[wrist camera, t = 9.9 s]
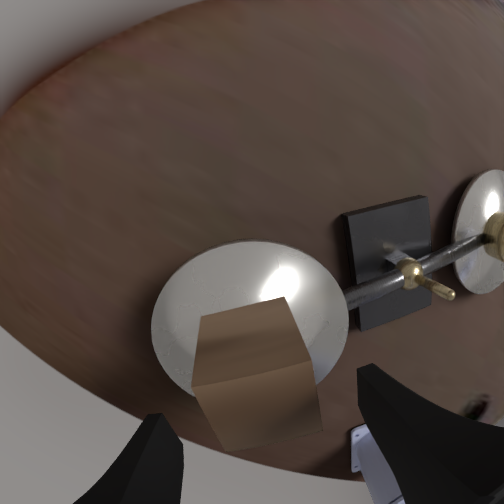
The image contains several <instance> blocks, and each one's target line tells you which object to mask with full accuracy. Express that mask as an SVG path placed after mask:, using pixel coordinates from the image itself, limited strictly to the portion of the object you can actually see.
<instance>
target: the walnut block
mask: <svg viewBox="0 0 504 504" xmlns="http://www.w3.org/2000/svg"><path fill="white" fill-rule="evenodd" d="M191 389H192V391H193V393H194V395H195V397H196V399H197V401H198V403H199V405H200V406H201V408H202V410H203V412H204V414H205V416H206V418H207V419H208V421H209V423H210V425H211V427H212V429H213V430H214V432H215V434H216V436H217V437H218V439H219V441H220V443H221V444H222V446H223V448H224V449H225V451H226V452H230V451H237V450H243V449H249V448H254V447H259V446H264V445H269V444H274V443H278V442H283V441H287V440H291V439H295V438H299V437H303V436H306V435H310V434H313V433H317V432H320V431H323V427H322V420H321V414H320V407H319V401H318V394H317V388H316V382H315V376H314V370H313V364H312V359H311V357H310V355H309V352H308V350H307V347H306V345H305V343H304V340H303V338H302V336H301V333H300V331H299V329H298V326H297V324H296V322H295V319H294V317H293V315H292V312H291V310H290V308H289V305H288V303H287V301H286V298H285V296H281V297H277V298H274V299H270V300H266V301H262V302H258V303H254V304H250V305H246V306H242V307H238V308H234V309H230V310H226V311H222V312H217V313H213V314H209V315H204V316H201V319H200V325H199V332H198V339H197V346H196V353H195V360H194V367H193V374H192V382H191Z"/></svg>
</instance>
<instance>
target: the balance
mask: <svg viewBox="0 0 504 504" xmlns="http://www.w3.org/2000/svg"><path fill="white" fill-rule="evenodd" d="M342 219H343V225H344V231H345V238H346V244H347V251H348V258H349V266H350V274H351V282H352V287H349V288H347V289H344V290H341V289H340V287H339V285H338V283H337V282H336V280H335V279H334V278H333V276H332V275H331V274H330V272H329V271H328V270H327V269H326V268H325V267H324V266H323V265H322V264H321V263H320V262H318V261H317V260H316V259H315V258H313V257H312V256H310V255H309V254H308V253H306V252H304V251H302V250H300V249H298V248H296V247H294V246H291V245H288V244H285V243H282V242H278V241H273V240H268V239H239V240H233V241H228V242H224V243H221V244H218V245H215V246H212V247H209V248H207V249H205V250H203V251H201V252H199V253H197V254H196V255H194V256H193V257H191V258H190V259H188V260H187V261H185V262H184V263H183V264H182V265H181V266H180V267H179V268H178V269H177V270H176V271H175V272H174V273H173V274H172V275H171V277H170V278H169V279H168V280H167V282H166V284H165V285H164V287H163V289H162V290H161V292H160V294H159V297H158V299H157V302H156V304H155V306H154V311H153V315H152V322H151V335H152V342H153V346H154V350H155V353H156V355H157V358H158V360H159V362H160V364H161V365H162V367H163V369H164V370H165V372H166V373H167V374H168V375H169V377H170V378H171V379H172V380H173V381H174V382H175V383H176V384H177V385H178V386H179V387H181V388H182V389H183V390H185V391H186V392H187V393H189V394H191V395H192V396H194V397H195V395H194V393H193V391H192V389H191V382H192V374H193V367H194V360H195V353H196V346H197V339H198V332H199V325H200V319H201V316H204V315H209V314H213V313H217V312H222V311H226V310H230V309H234V308H238V307H242V306H246V305H250V304H254V303H258V302H262V301H266V300H270V299H274V298H277V297H281V296H285V298H286V301H287V303H288V305H289V308H290V310H291V312H292V315H293V317H294V319H295V322H296V324H297V326H298V329H299V331H300V333H301V336H302V338H303V340H304V343H305V345H306V347H307V350H308V352H309V355H310V357H311V359H312V364H313V370H314V376H315V382H316V385H317V384H318V383H319V382H320V381H321V380H322V379H323V378H324V377H325V376H326V375H327V374H328V373H329V372H330V371H331V369H332V368H333V367H334V365H335V364H336V362H337V361H338V359H339V357H340V355H341V353H342V351H343V348H344V346H345V342H346V339H347V335H348V326H349V317H348V311H350V310H352V309H354V310H355V321H356V326H357V327H358V328H359V330H360V331H361V332H362V331H365V330H368V329H371V328H374V327H376V326H379V325H382V324H384V323H387V322H390V321H392V320H395V319H398V318H400V317H403V316H405V315H408V314H410V313H413V312H415V311H418V310H420V309H422V308H425V307H427V306H429V305H431V295H432V292H433V293H435V294H437V295H439V296H441V297H443V298H445V299H446V300H449V301H452V300H453V299H454V298H455V291H454V290H452V289H450V288H448V287H446V286H444V285H442V284H440V283H438V282H436V281H434V280H432V273H433V272H435V271H437V270H439V269H441V268H443V267H445V266H446V265H448V264H450V263H452V265H453V269H454V272H455V275H456V277H457V279H458V280H459V282H460V283H461V284H462V286H464V287H465V288H466V289H468V290H469V291H471V292H473V293H476V294H485V293H488V292H490V291H492V290H494V289H495V288H497V287H498V286H499V285H500V284H501V283H502V282H503V281H504V171H501V170H495V169H488V170H485V171H482V172H481V173H479V174H478V175H476V176H475V177H474V178H473V179H472V180H471V182H470V183H469V184H468V186H467V187H466V189H465V191H464V193H463V194H462V196H461V199H460V201H459V204H458V207H457V210H456V213H455V217H454V221H453V227H452V234H451V244H449V245H447V246H445V247H443V248H441V249H439V250H437V251H434V252H432V250H431V228H430V215H429V204H428V197H426V196H422V195H417V196H413V197H409V198H404V199H400V200H396V201H392V202H388V203H383V204H379V205H375V206H371V207H367V208H363V209H359V210H355V211H350V212H346V213H342Z"/></svg>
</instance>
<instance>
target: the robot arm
mask: <svg viewBox="0 0 504 504" xmlns="http://www.w3.org/2000/svg"><path fill="white" fill-rule="evenodd" d="M357 386H358V406H359V409H360V411H361V414H362V416H363V418H364V421H365V423H366V424H365V425H362V426H359V427H356V428H354V429H353V430H352V431H351V470H352V472H357V471H360V470H361V472H362V475H363V477H364V479H365V482H366V484H367V487H368V489H369V492H370V494H371V497H372V499H373V501H374V504H504V427H498V426H493V425H490V424H486V423H482V422H478V421H475V420H471V419H468V418H466V417H463V416H460V415H458V414H455V413H453V412H450V411H448V410H446V409H444V408H442V407H440V406H438V405H436V404H434V403H432V402H430V401H428V400H427V399H425V398H423V397H421V396H420V395H418V394H416V393H415V392H413V391H412V390H410V389H409V388H407V387H405V386H404V385H402V384H401V383H399V382H398V381H397V380H395V379H394V378H392V377H391V376H390V375H388V374H387V373H385V372H384V371H383V370H381V369H380V368H379V367H377V366H376V365H375V364H373V363H371V364H368V365H366V366H363V367H360V368H357ZM183 469H184V455H183V444H182V442H181V441H180V439H179V438H178V436H177V435H176V433H175V432H174V430H173V429H172V428H171V426H170V425H169V423H168V421H167V420H166V418H165V417H164V415H163V414H162V413H158V414H148V415H147V416H146V418H145V419H144V420H143V422H142V423H141V425H140V426H139V428H138V429H137V431H136V432H135V434H134V435H133V437H132V438H131V440H130V441H129V442H128V444H127V445H126V447H125V448H124V449H123V451H122V452H121V454H120V455H119V456H118V457H117V459H116V460H115V461H114V463H113V464H112V465H111V466H110V468H109V469H108V470H107V471H106V473H105V474H104V475H103V476H102V477H101V478H100V479H99V480H98V481H97V482H96V483H95V484H94V485H93V486H92V487H91V488H90V489H89V490H88V491H87V492H86V493H85V494H84V495H83V496H81V497H80V498H79V499H78V500H77V501H75V502H74V503H73V504H180V499H181V490H182V479H183Z"/></svg>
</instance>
